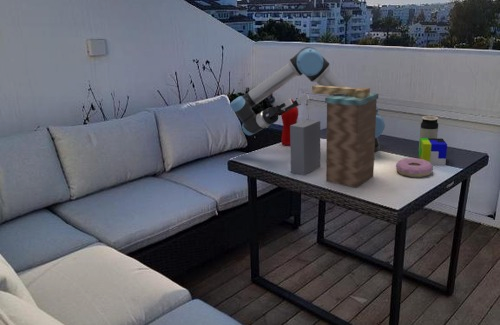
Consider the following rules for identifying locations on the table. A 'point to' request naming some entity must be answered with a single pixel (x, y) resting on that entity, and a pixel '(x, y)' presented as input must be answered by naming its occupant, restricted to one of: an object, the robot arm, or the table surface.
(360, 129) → the laundry hamper
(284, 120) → the water bottle
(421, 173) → the donut
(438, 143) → the puzzle toy
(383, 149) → the table surface
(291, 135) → the plinth
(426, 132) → the travel mug
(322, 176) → the table surface
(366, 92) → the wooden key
